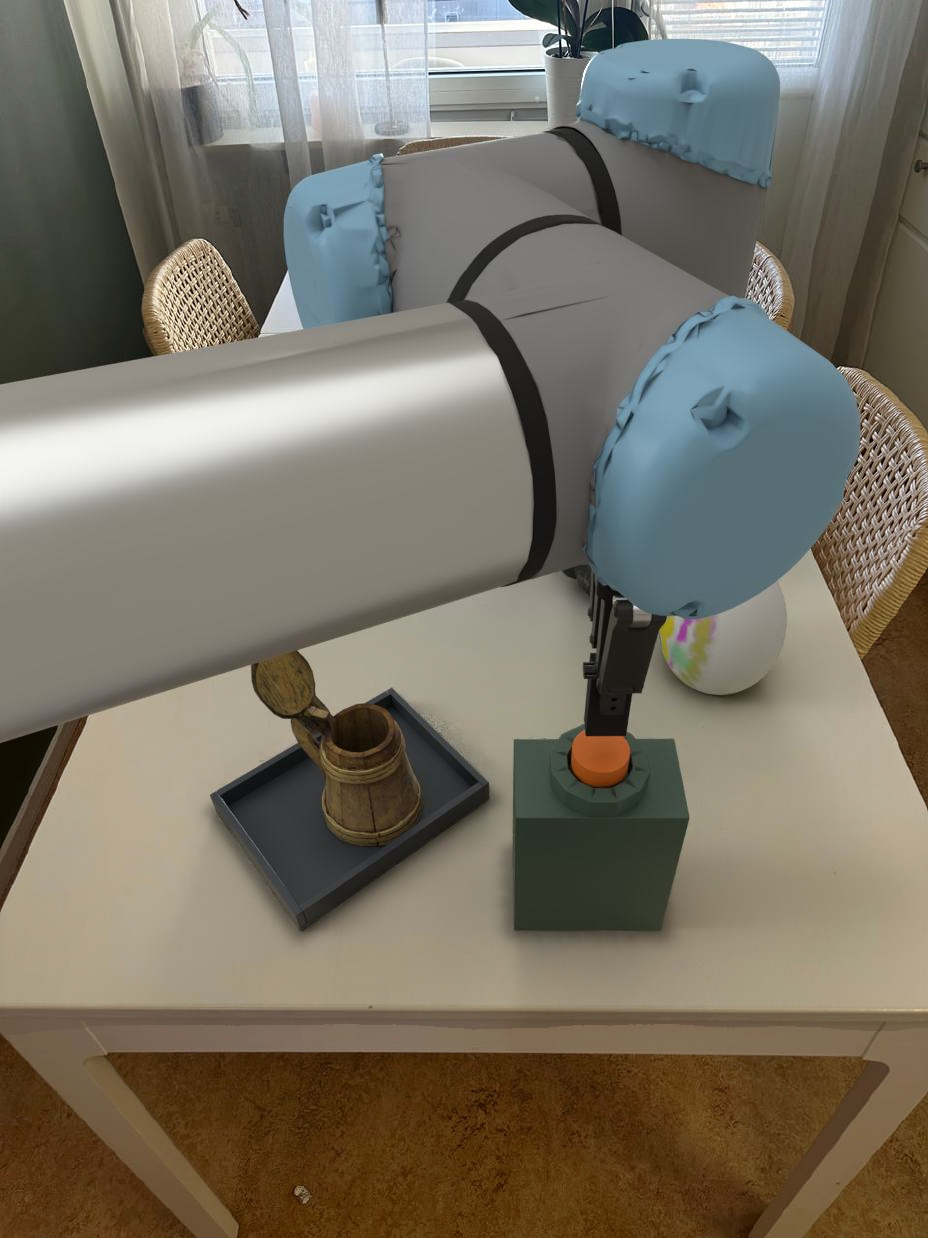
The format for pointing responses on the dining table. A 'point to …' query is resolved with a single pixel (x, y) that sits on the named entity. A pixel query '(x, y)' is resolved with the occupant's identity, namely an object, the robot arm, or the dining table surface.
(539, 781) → the post
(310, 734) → the wooden mug
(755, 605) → the decorative egg
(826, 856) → the dining table surface
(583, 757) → the button
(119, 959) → the dining table surface
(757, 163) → the robot arm
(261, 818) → the tray
